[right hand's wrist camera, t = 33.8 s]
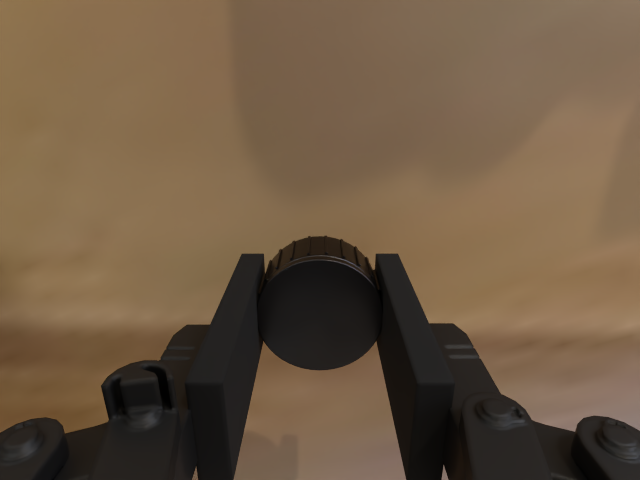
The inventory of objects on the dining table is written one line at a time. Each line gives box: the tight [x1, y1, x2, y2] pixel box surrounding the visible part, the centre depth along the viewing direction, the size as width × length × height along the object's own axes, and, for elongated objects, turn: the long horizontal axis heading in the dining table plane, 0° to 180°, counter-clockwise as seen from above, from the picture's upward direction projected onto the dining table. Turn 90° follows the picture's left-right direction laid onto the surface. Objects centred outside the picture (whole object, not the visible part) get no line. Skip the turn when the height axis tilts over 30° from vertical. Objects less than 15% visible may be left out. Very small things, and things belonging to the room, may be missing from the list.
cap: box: [257, 236, 383, 370], centre depth 14 cm, size 4×4×2 cm
